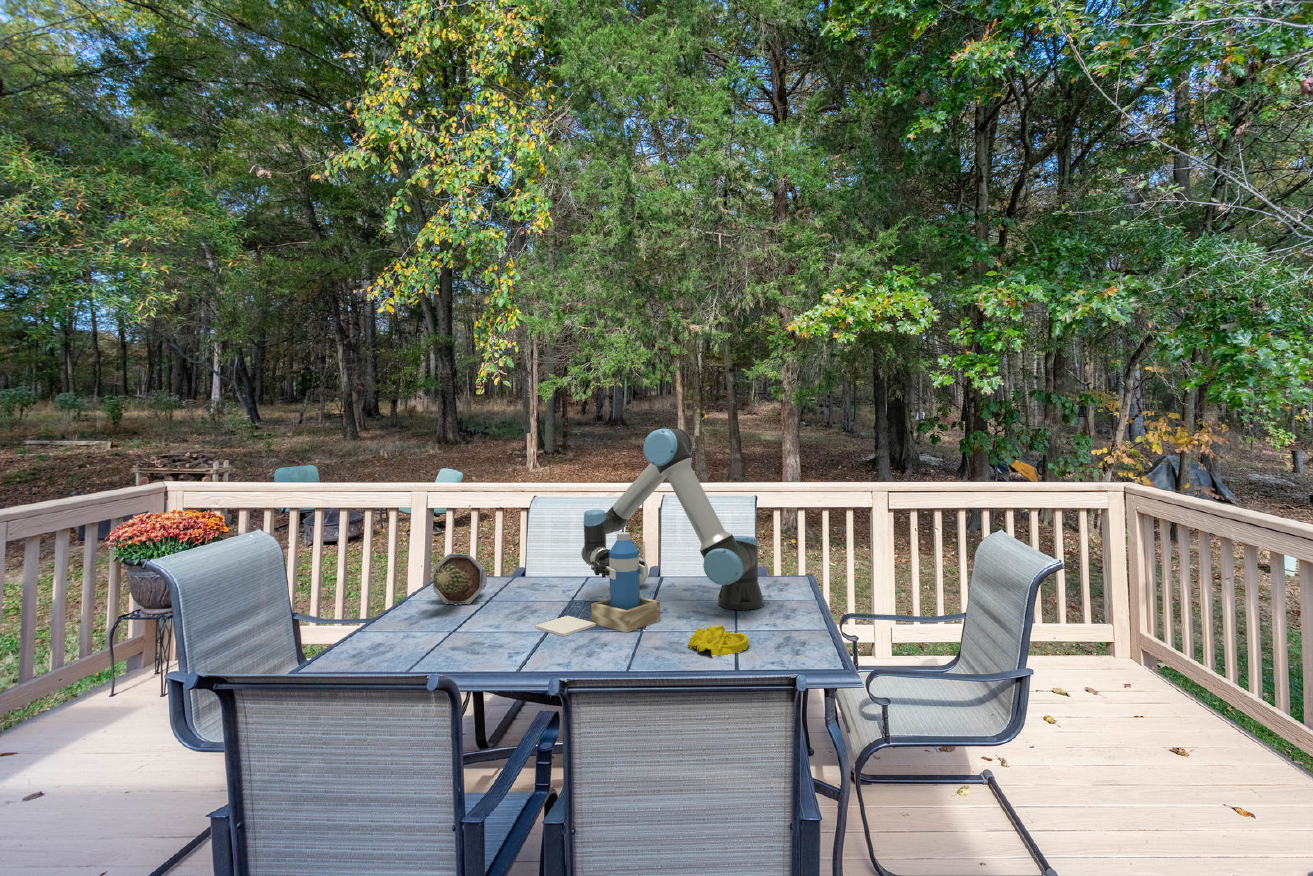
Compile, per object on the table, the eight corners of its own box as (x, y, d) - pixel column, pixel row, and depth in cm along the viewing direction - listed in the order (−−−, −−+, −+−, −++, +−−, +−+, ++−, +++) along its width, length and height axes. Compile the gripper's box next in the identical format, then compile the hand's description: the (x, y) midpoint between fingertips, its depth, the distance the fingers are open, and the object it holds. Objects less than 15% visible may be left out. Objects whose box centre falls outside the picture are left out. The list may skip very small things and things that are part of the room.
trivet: (596, 625, 199) (595, 623, 199) (563, 636, 189) (563, 633, 189) (567, 618, 208) (567, 615, 208) (534, 628, 198) (534, 625, 198)
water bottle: (629, 620, 196) (627, 536, 196) (604, 615, 201) (602, 534, 201) (646, 612, 204) (644, 532, 204) (621, 608, 209) (619, 530, 209)
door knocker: (758, 651, 176) (758, 635, 176) (707, 661, 169) (707, 645, 169) (724, 634, 191) (724, 619, 191) (676, 642, 184) (676, 627, 184)
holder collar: (660, 620, 203) (659, 601, 203) (626, 632, 192) (626, 612, 192) (625, 612, 213) (624, 593, 213) (591, 623, 202) (591, 603, 202)
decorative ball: (648, 583, 252) (647, 552, 252) (648, 591, 240) (648, 558, 240) (617, 584, 252) (616, 553, 251) (616, 591, 240) (615, 559, 239)
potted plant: (446, 554, 241) (417, 549, 211) (495, 556, 241) (472, 551, 211) (441, 603, 237) (410, 605, 208) (490, 605, 237) (467, 607, 207)
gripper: (635, 567, 223) (662, 581, 203) (573, 575, 214) (595, 590, 194) (634, 545, 223) (662, 557, 203) (572, 552, 214) (595, 564, 194)
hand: (629, 573), depth 198 cm, fingers closed on water bottle, 9 cm apart
